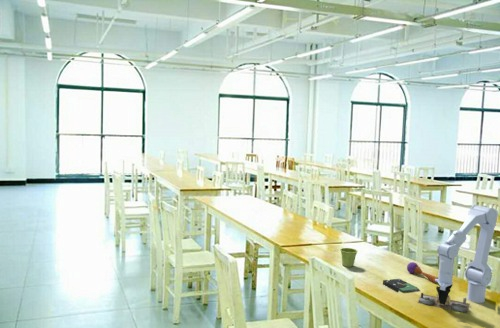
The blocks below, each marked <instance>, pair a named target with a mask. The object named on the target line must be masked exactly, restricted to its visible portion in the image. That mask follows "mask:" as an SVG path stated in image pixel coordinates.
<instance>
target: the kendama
mask: <svg viewBox="0 0 500 328" xmlns="http://www.w3.org/2000/svg"><path fill="white" fill-rule="evenodd" d="M406 270H407V271H408V273H409V274H412V275H423V276H424V277H425V278H427V279H428V280H430V281H431V282H433V283H434V284H436V285H437V284H439V283H438V282H436V281H435V279H438V277H437V276H435V275H432V274H429V273H426V272H423V270H422V269H421V267H420V266H419V265H418V264H417V263H416V262H414V261H412V262H411V261H410V262H409V263H408V264H407V265H406Z"/></svg>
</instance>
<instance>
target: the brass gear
mask: <svg viewBox="0 0 500 328" xmlns="http://www.w3.org/2000/svg"><path fill="white" fill-rule="evenodd" d="M435 297H436V302H437V303H439V295H438V293H437V294H436V296H435ZM450 300H452V299H451V296H450V295H449V294H448V296H447V299H446V303H445V305H448V304H450ZM442 305H443V304H442Z"/></svg>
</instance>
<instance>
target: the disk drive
mask: <svg viewBox="0 0 500 328" xmlns="http://www.w3.org/2000/svg"><path fill="white" fill-rule="evenodd" d="M382 285H383V286H384V285H385V287H386V286H387V288H389V289H391V290H392V291H394V292H396V293H399V292H401V293H410V292H411V293H412V292H420V291H421V290H420V288H418V287H417V286H415V285H413V284H411V283H409V282H407V281H406V280H403V279H401V278H395V279H394V278H393V279H391V278H390V279H389V280H388V279H384V280H383V281H382Z"/></svg>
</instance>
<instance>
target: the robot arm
mask: <svg viewBox="0 0 500 328" xmlns="http://www.w3.org/2000/svg"><path fill="white" fill-rule="evenodd" d="M498 215H499V213H498V212H497V210H496V209H495V208H493V207H487V206H483V205H478V204H473V205H472V206H471V207H470V209H469V210H468V216H467V218H466V219H465V221H464V222H463V224H462V225H461V227H459V229H458V230H454V231H453V232H452V234H450V236H449V237H448V238H447V239H446V241H445V242H442V243H440V244H439V245H438V248H437V249H436V251H437V254H438V260H439V264H438V272H437V273H438V279H435V281H436V282H438V283H437V284H438V286H436V287H435V288H436V292H437V294H438V295H439V303H440V304H444V305H445V303H446V299H447V296H448V295H449V294H450V292H451V291H452V290H451V288H452V287H453V275H454V264H455V259H456V258H457V257H458V256H459V251H460V247H461V246H462V245H463V244H464V243H465V241H466V240H467V234H469V232H470V231H472V229H474V228H475V227H476V226H477V225H478V224H479V226H480V230H479V234H478V235H479V236H478V240H477V243H476V244H477V245H476V249H475V254H474V258H473V260H472V261H470V262H468V264H467V267H466V269H465V271H464V276H465V278H466V282H468V285H467V295H466V300H468V301H470V302H473V303H477V304H483V303H485V302H486V301H485V300H486V290H487V286H488V285H489V284H490V283H491V282H492V270H493V269H492V268H491V267H490V266H489V265H488V260H489V257H490V256H489V255H490V250H491V245H492V241H493V237H494V231H495V229H496V225H497V221H498V217H499V216H498Z"/></svg>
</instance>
